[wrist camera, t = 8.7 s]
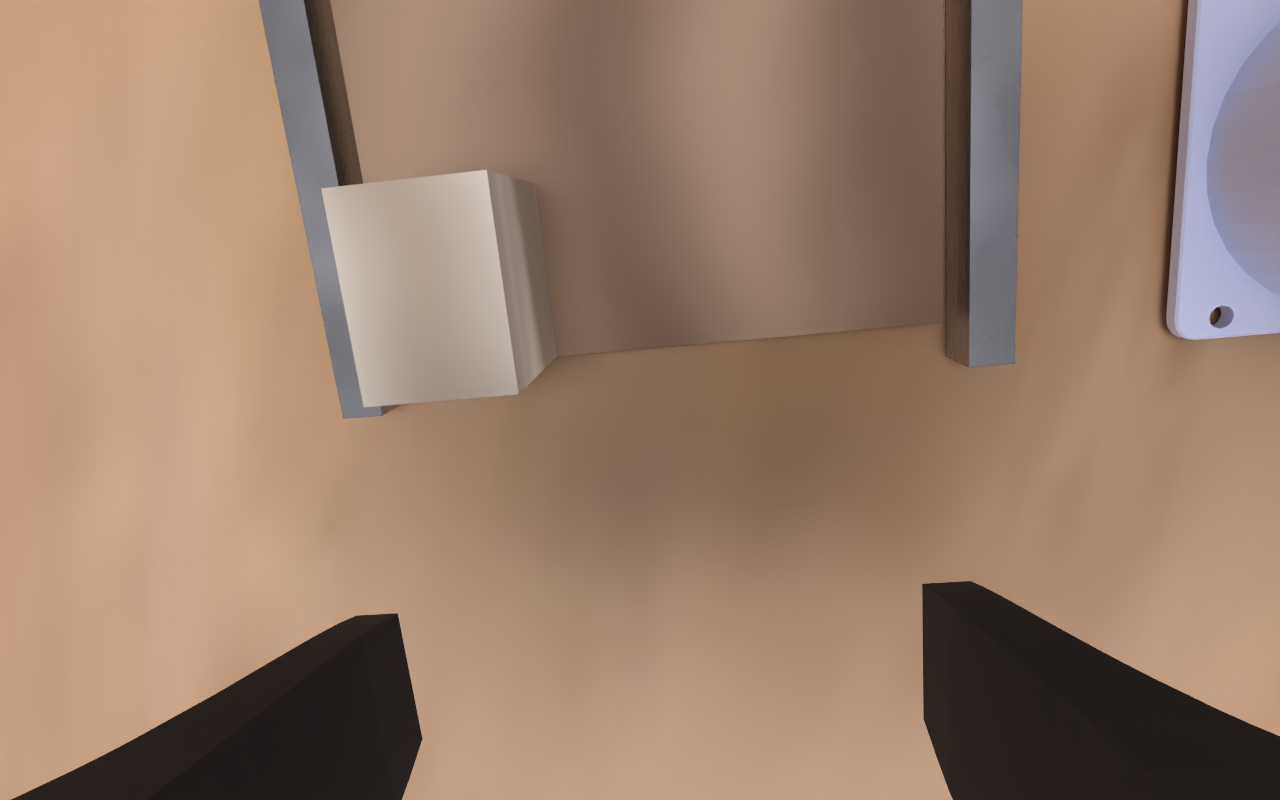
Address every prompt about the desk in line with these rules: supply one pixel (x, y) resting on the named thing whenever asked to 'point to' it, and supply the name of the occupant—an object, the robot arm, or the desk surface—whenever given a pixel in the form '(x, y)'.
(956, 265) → the guide rails
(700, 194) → the shallow tray
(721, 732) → the desk surface
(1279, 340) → the desk surface
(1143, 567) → the desk surface
